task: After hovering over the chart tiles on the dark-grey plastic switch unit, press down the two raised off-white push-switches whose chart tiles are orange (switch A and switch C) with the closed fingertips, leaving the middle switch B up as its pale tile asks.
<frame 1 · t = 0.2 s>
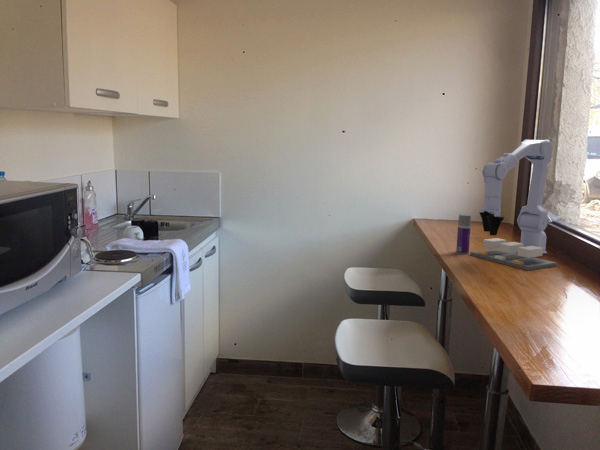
hand: (490, 233, 194), 10 cm above the breakfast bar, fingers open, 7 cm apart
button A: (494, 243, 202), point 5 cm above the breakfast bar, slide at 2.0 cm
button C: (530, 251, 188), point 5 cm above the breakfast bar, slide at 2.0 cm
button B: (511, 247, 195), point 5 cm above the breakfast bar, slide at 2.0 cm
switch unit: (511, 260, 196), on the breakfast bar
container: (462, 253, 207), on the breakfast bar
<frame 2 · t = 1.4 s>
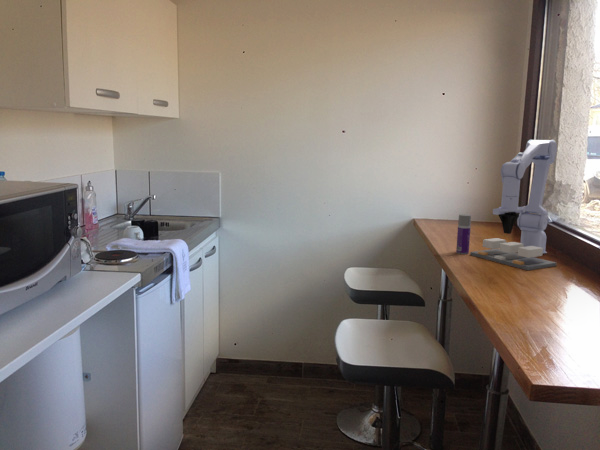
hand: (507, 233, 193), 10 cm above the breakfast bar, fingers closed
nothing on the breakfast bar moved.
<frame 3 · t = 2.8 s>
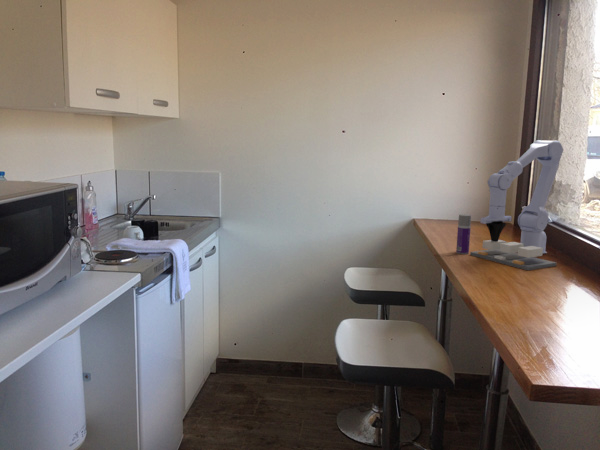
hand: (494, 241, 202), 6 cm above the breakfast bar, fingers closed, pressing on button A
button A: (494, 244, 202), point 4 cm above the breakfast bar, slide at 1.5 cm, touching gripper
everything else where it was.
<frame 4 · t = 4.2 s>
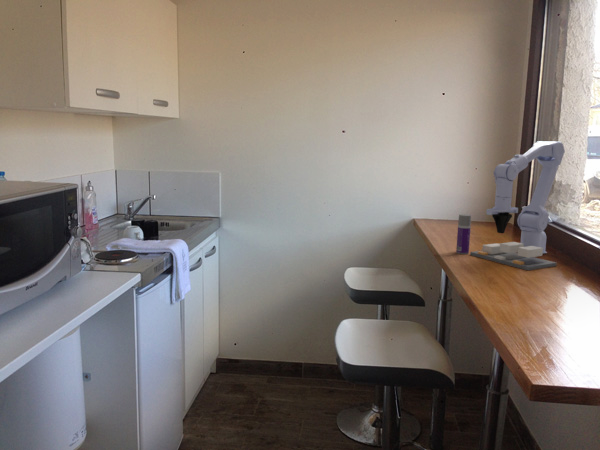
hand: (500, 232, 199), 9 cm above the breakfast bar, fingers closed
button A: (493, 248, 202), point 3 cm above the breakfast bar, slide at -0.1 cm
everything else where it was.
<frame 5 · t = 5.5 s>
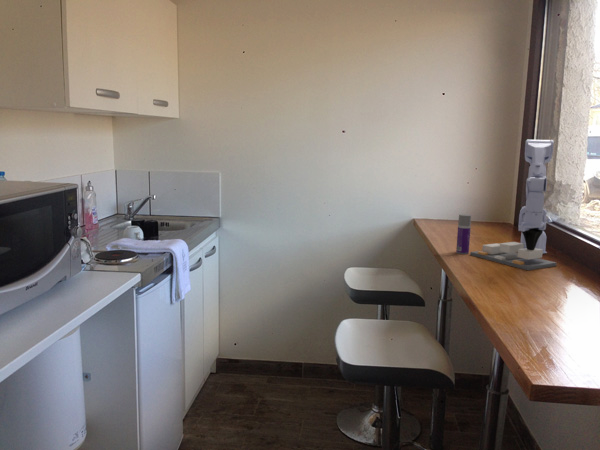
hand: (530, 249, 188), 6 cm above the breakfast bar, fingers closed, pressing on button C
button C: (530, 253, 188), point 4 cm above the breakfast bar, slide at 1.4 cm, touching gripper
everything else where it was.
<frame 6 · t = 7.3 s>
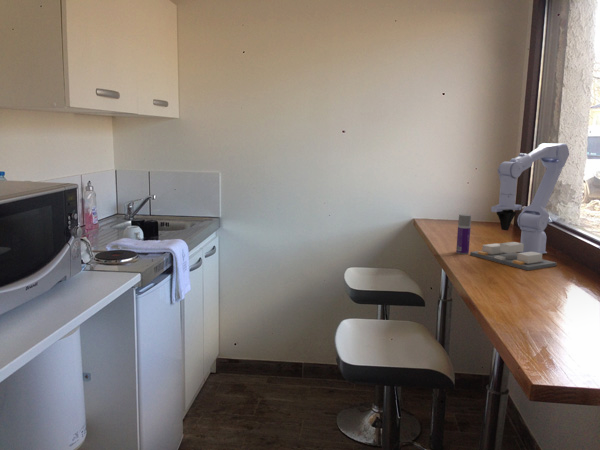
hand: (504, 229, 200), 10 cm above the breakfast bar, fingers closed
button C: (529, 257, 188), point 3 cm above the breakfast bar, slide at -0.1 cm
everything else where it was.
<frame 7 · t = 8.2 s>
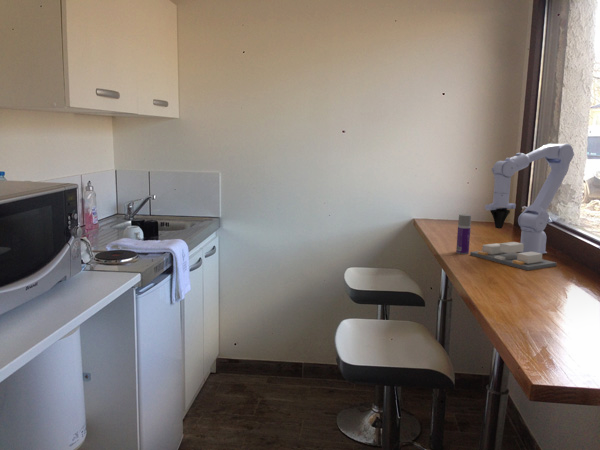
hand: (498, 228, 203), 10 cm above the breakfast bar, fingers closed
nothing on the breakfast bar moved.
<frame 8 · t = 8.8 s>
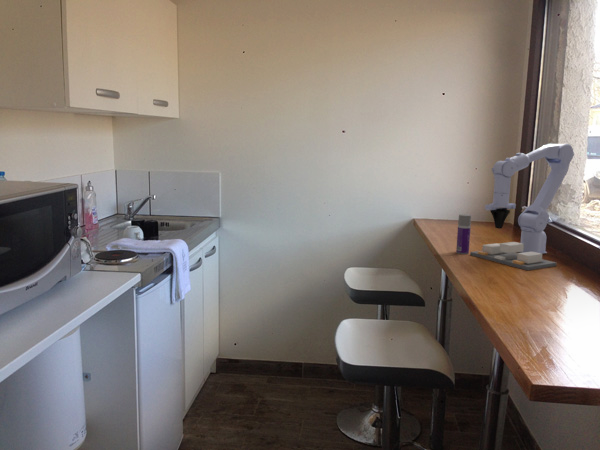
hand: (498, 228, 203), 10 cm above the breakfast bar, fingers closed
nothing on the breakfast bar moved.
at the end: button A slide at -0.1 cm; button C slide at -0.1 cm; button B slide at 2.0 cm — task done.
